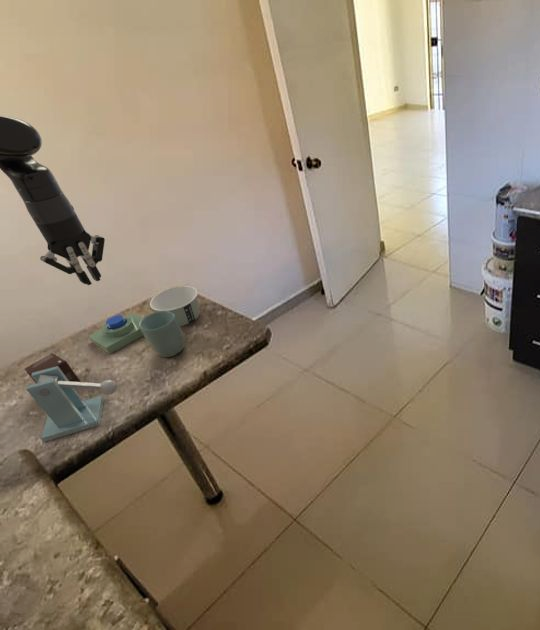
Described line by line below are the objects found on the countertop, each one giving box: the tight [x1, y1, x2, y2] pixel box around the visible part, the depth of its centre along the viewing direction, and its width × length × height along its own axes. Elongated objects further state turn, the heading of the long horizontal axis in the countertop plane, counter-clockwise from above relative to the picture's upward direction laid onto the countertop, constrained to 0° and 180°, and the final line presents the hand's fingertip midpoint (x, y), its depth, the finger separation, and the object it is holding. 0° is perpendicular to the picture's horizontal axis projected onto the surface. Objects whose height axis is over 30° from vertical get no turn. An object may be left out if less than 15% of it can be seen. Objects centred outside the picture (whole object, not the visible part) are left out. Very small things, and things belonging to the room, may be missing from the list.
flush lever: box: [38, 375, 118, 396], centre depth 89 cm, size 13×3×3 cm
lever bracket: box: [25, 366, 105, 443], centre depth 89 cm, size 10×8×13 cm
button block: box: [88, 312, 144, 355], centre depth 114 cm, size 12×9×4 cm
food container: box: [149, 285, 201, 327], centre depth 120 cm, size 12×12×6 cm
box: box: [24, 352, 82, 384], centre depth 99 cm, size 6×6×7 cm
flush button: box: [105, 314, 126, 329], centre depth 113 cm, size 4×4×2 cm
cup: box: [139, 311, 186, 358], centre depth 107 cm, size 8×8×10 cm
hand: (92, 281), depth 105 cm, fingers closed
